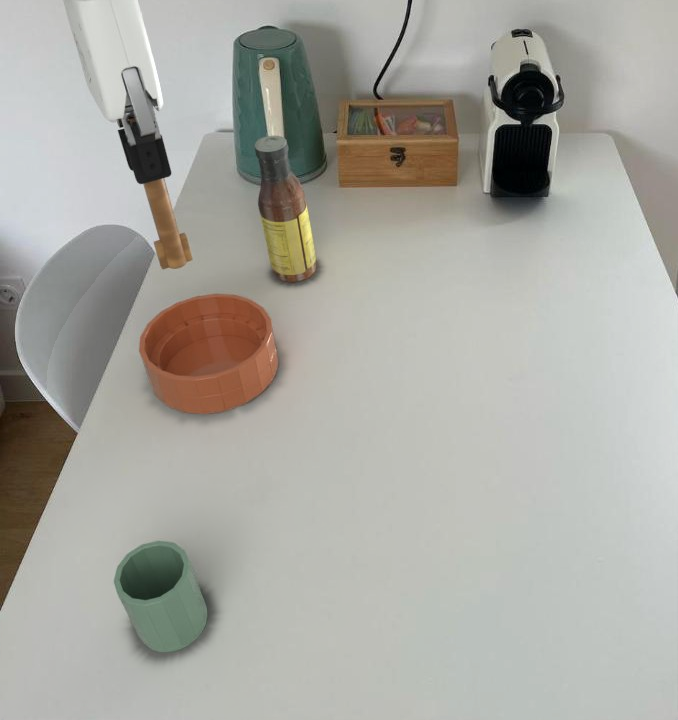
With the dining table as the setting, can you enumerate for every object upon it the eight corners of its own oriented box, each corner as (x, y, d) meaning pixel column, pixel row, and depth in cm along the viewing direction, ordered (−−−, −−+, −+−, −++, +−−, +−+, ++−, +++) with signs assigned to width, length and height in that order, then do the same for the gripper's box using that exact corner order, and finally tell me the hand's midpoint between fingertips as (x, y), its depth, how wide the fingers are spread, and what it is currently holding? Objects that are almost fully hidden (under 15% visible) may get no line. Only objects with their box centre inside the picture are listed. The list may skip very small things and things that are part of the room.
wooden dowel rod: (164, 273, 81) (119, 124, 70) (158, 262, 83) (114, 115, 72) (194, 263, 82) (156, 116, 71) (189, 253, 84) (150, 107, 73)
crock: (148, 665, 71) (124, 617, 65) (131, 608, 75) (106, 559, 70) (216, 633, 73) (198, 584, 67) (195, 579, 77) (176, 529, 72)
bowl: (172, 435, 91) (159, 397, 87) (137, 356, 101) (125, 319, 97) (297, 387, 96) (291, 349, 92) (253, 316, 106) (245, 279, 102)
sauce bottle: (300, 252, 116) (281, 123, 102) (326, 272, 112) (310, 140, 99) (262, 271, 113) (237, 140, 100) (286, 291, 109) (264, 159, 96)
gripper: (25, -56, 67) (92, 147, 79) (60, 2, 56) (131, 225, 69) (116, -72, 69) (167, 128, 82) (166, -19, 59) (215, 200, 71)
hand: (150, 171), depth 75 cm, fingers closed on wooden dowel rod, 2 cm apart
